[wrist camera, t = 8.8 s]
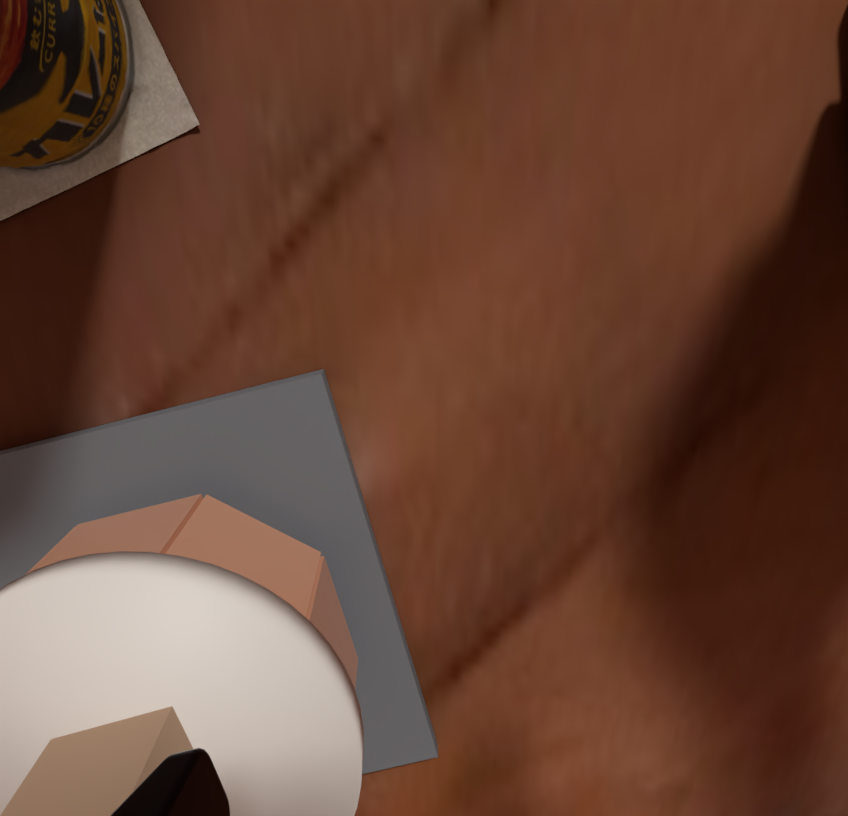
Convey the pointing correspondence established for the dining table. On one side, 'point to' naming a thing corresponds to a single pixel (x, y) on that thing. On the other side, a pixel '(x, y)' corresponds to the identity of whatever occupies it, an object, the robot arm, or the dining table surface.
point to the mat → (247, 492)
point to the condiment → (79, 94)
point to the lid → (168, 689)
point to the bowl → (223, 556)
